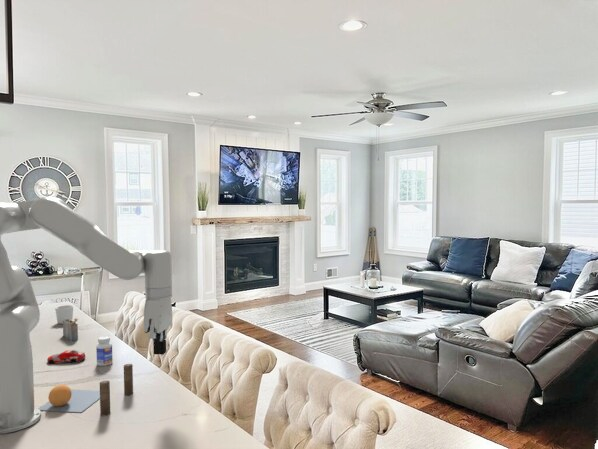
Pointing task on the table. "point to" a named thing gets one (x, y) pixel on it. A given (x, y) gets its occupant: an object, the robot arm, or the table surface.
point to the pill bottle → (104, 351)
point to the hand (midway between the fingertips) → (159, 353)
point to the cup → (64, 313)
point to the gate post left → (104, 398)
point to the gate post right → (128, 379)
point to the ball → (60, 395)
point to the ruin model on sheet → (70, 329)
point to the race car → (67, 357)
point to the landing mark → (75, 402)
